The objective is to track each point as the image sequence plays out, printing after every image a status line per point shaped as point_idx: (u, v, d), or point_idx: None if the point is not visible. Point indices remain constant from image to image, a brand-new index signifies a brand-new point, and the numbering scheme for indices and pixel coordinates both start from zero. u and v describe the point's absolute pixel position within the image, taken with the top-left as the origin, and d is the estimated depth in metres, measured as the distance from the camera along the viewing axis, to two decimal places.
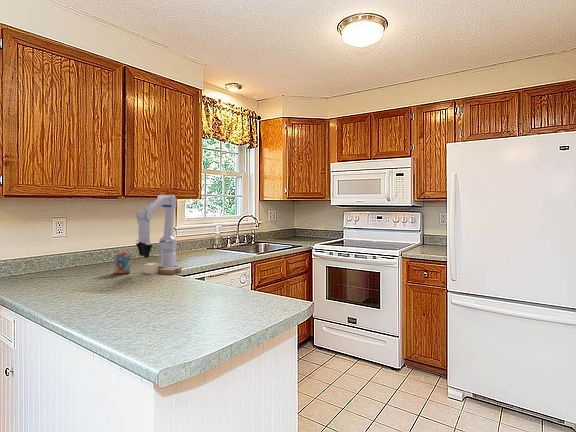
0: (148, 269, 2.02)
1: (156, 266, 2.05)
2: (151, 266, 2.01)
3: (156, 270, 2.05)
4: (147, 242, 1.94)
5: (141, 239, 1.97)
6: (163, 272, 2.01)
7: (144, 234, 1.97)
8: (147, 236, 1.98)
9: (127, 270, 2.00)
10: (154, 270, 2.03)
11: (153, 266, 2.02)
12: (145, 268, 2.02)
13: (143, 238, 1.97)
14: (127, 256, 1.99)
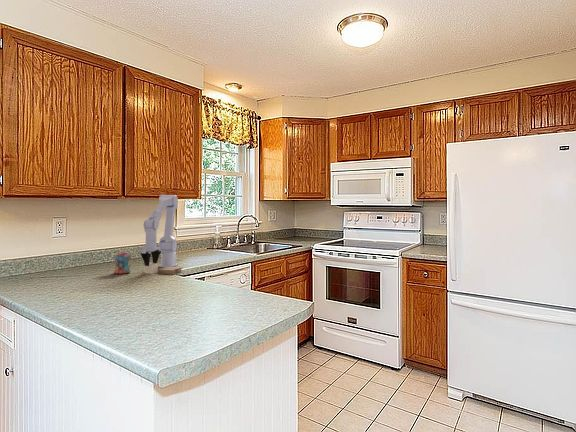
0: (148, 269, 2.02)
1: (156, 266, 2.05)
2: (151, 266, 2.01)
3: (156, 270, 2.05)
4: (142, 251, 1.97)
5: None
6: (163, 272, 2.01)
7: (147, 243, 2.01)
8: (149, 245, 2.01)
9: (127, 270, 2.00)
10: (154, 270, 2.03)
11: (153, 266, 2.02)
12: (145, 268, 2.02)
13: (146, 246, 2.02)
14: (127, 256, 1.99)
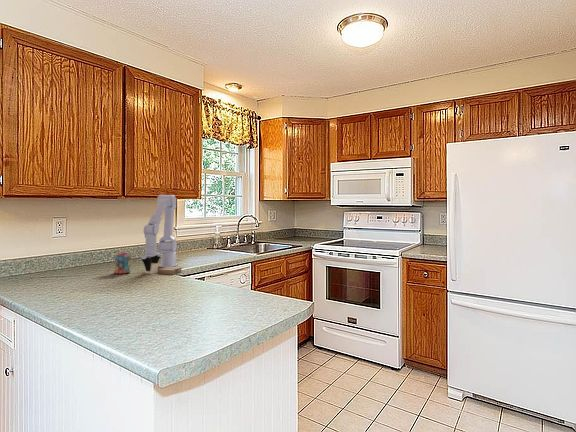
0: None
1: (156, 266, 2.05)
2: (151, 266, 2.01)
3: (156, 270, 2.05)
4: (142, 256, 1.97)
5: (145, 253, 2.03)
6: (163, 272, 2.01)
7: (147, 248, 2.01)
8: (149, 250, 2.01)
9: (127, 270, 2.00)
10: (154, 270, 2.03)
11: (153, 266, 2.02)
12: (145, 268, 2.02)
13: (146, 251, 2.02)
14: (127, 256, 1.99)
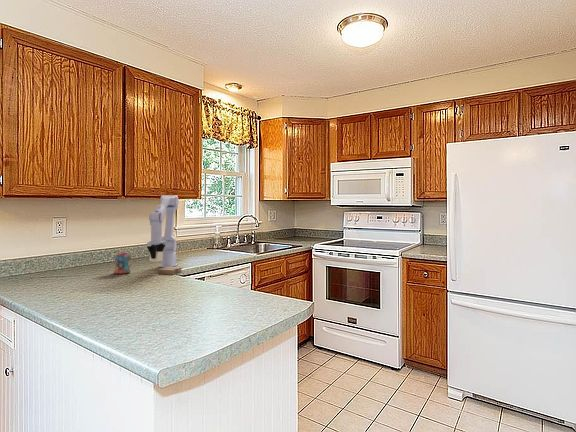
0: None
1: (161, 254, 2.05)
2: (156, 254, 2.01)
3: (161, 258, 2.05)
4: (147, 243, 1.97)
5: (151, 240, 2.03)
6: (163, 272, 2.01)
7: (152, 236, 2.01)
8: (155, 238, 2.01)
9: (127, 270, 2.00)
10: (159, 258, 2.03)
11: (158, 254, 2.02)
12: (150, 256, 2.02)
13: (151, 239, 2.02)
14: (127, 256, 1.99)
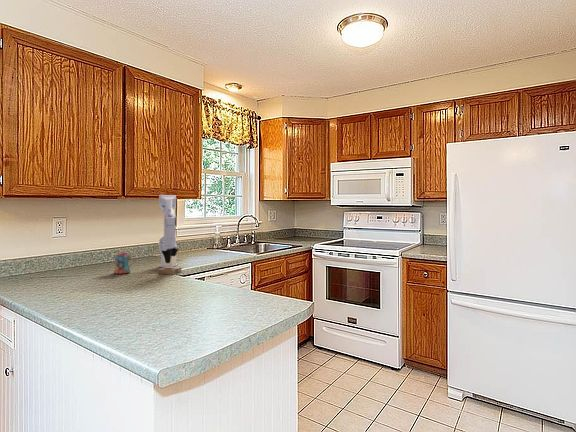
0: None
1: (174, 258, 2.06)
2: (170, 258, 2.02)
3: (174, 262, 2.06)
4: (163, 248, 1.98)
5: (165, 245, 2.03)
6: (163, 272, 2.01)
7: (166, 240, 2.02)
8: (169, 242, 2.02)
9: (127, 270, 2.00)
10: (173, 263, 2.04)
11: (172, 258, 2.03)
12: (164, 260, 2.03)
13: (165, 243, 2.02)
14: (127, 256, 1.99)
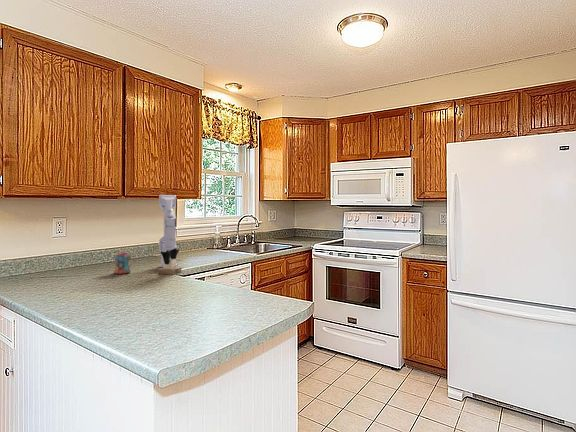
0: (167, 264, 2.02)
1: (174, 261, 2.06)
2: (170, 261, 2.02)
3: (174, 265, 2.06)
4: (163, 249, 1.98)
5: (165, 246, 2.03)
6: (163, 272, 2.01)
7: (166, 241, 2.02)
8: (169, 243, 2.02)
9: (127, 270, 2.00)
10: (173, 266, 2.04)
11: (172, 261, 2.03)
12: (164, 263, 2.03)
13: (165, 244, 2.02)
14: (127, 256, 1.99)
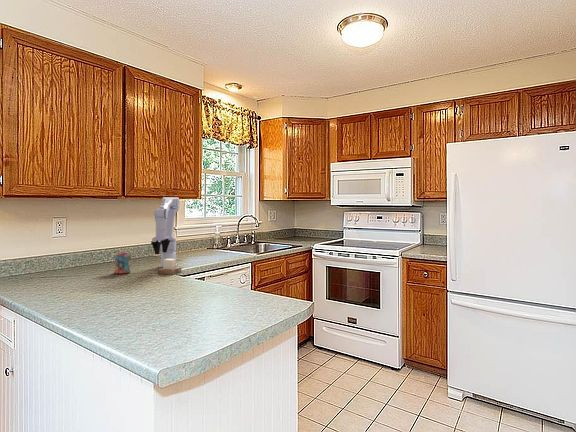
0: (167, 264, 2.02)
1: (174, 261, 2.06)
2: (170, 261, 2.02)
3: (174, 265, 2.06)
4: (152, 239, 2.01)
5: None
6: (163, 272, 2.01)
7: (157, 231, 2.05)
8: (159, 234, 2.05)
9: (127, 270, 2.00)
10: (173, 266, 2.04)
11: (172, 261, 2.03)
12: (164, 263, 2.03)
13: (156, 235, 2.06)
14: (127, 256, 1.99)
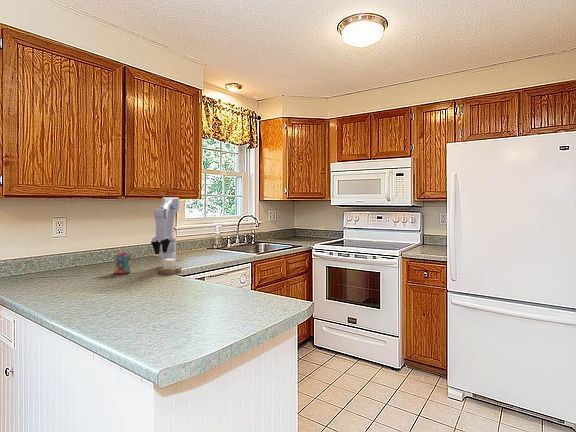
0: (167, 264, 2.02)
1: (174, 261, 2.06)
2: (170, 261, 2.02)
3: (174, 265, 2.06)
4: (152, 239, 2.01)
5: None
6: (163, 272, 2.01)
7: (157, 231, 2.05)
8: (159, 234, 2.05)
9: (127, 270, 2.00)
10: (173, 266, 2.04)
11: (172, 261, 2.03)
12: (164, 263, 2.03)
13: (156, 235, 2.06)
14: (127, 256, 1.99)
